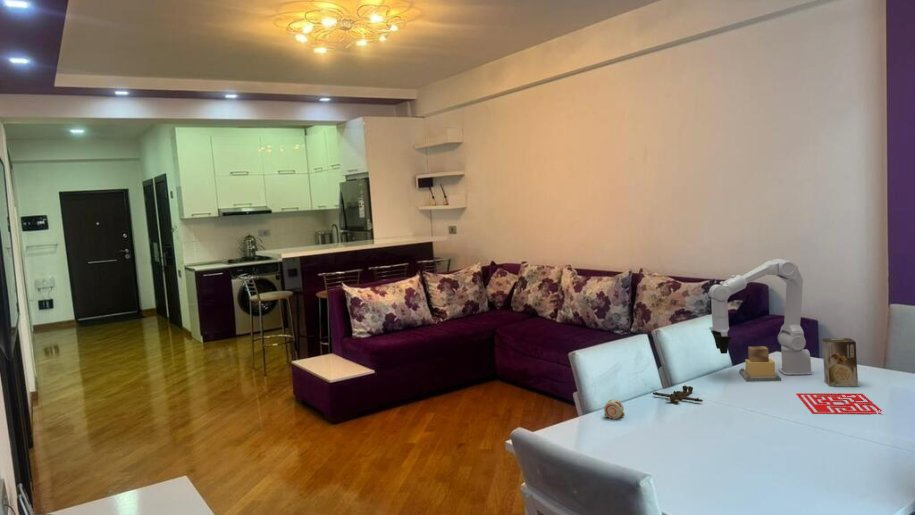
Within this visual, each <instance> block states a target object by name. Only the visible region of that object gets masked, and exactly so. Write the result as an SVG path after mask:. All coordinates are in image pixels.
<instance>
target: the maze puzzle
mask: <svg viewBox="0 0 915 515" xmlns="http://www.w3.org/2000/svg"><path fill="white" fill-rule="evenodd" d="M795 394H796V396H797V398H799V399H800V401H802V403H803V404H804V406H805V407H806V408H807V409H808V411H809V412H810V413H811V415H871V414H877V413H878V414H881V413H880V412H879V410H880V411H883V410H882V409H881V408H879V407H878V406H877V405H876V403H873V401H871V400H870V399H869V397H867V396H866V395H865V394H864V393H829V392H827V393H823V392H821V393H810V392H809V393H806V392H805V393H801V392H800V393H795ZM857 394H858V395H857ZM844 395H845V396H846V397H845V396H844ZM860 395H861V397H860ZM847 396H852V397H847ZM855 396H856V397H855ZM804 398H805V399H806V400H805V399H804ZM811 398H812V399H811ZM823 398H824V399H823ZM831 398H832V399H831ZM841 398H851V399H841ZM865 399H866V400H867V401H868V402H867V401H866V400H865ZM819 400H820V401H819ZM843 400H847V401H848V402H847V401H843ZM851 400H852V401H851ZM853 400H854V401H853ZM813 401H814V402H815V403H814V402H813ZM856 401H864V402H856ZM835 403H837V404H835ZM838 403H840V404H838ZM841 403H842V404H841ZM856 404H858V405H859V406H860V408H859V406H858V405H856ZM810 405H811V406H812V407H813V408H812V407H811V406H810ZM872 405H873V406H874V407H875V408H876V409H877V410H875V408H874V407H873V406H872ZM865 406H867V407H868V408H869V409H868V408H867V407H865ZM853 408H854V409H855V410H854V409H853ZM814 409H815V410H814ZM837 409H838V410H837ZM831 410H832V411H831ZM839 411H840V412H839ZM877 411H878V412H877Z"/></svg>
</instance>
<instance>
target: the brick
mask: <svg viewBox="0 0 915 515" xmlns="http://www.w3.org/2000/svg"><path fill="white" fill-rule="evenodd" d="M744 361H745V370H746V373H747V374H748V375H749V376H771V375H775V372H776V364H775V361H774V360H773V359H772V358H769V362H753V363H752V362H751V361H750V360H749V358H746V359H745V360H744Z"/></svg>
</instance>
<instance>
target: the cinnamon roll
mask: <svg viewBox="0 0 915 515" xmlns="http://www.w3.org/2000/svg"><path fill="white" fill-rule="evenodd" d="M603 411H604V414H603V415H604V417H605V418H607V417H609V418H608V419H611V418H612V419H611V420H616V419H620V418H624V416H625V412H624V405H623V403H622V402H621V401H620V400H619V399H615V398H613V399H609V400H608V401H607V402H606V403H605V405H604V407H603Z"/></svg>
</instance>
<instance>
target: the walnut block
mask: <svg viewBox="0 0 915 515" xmlns="http://www.w3.org/2000/svg"><path fill="white" fill-rule="evenodd" d="M747 349H748V351H747V353H748V359H749V360H750V361H751V362H752V363H753V362H769V359H770V357H769V356H770V355H769V348H768V347H767V346H765V345H763V346H762V345H761V346H747Z"/></svg>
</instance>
